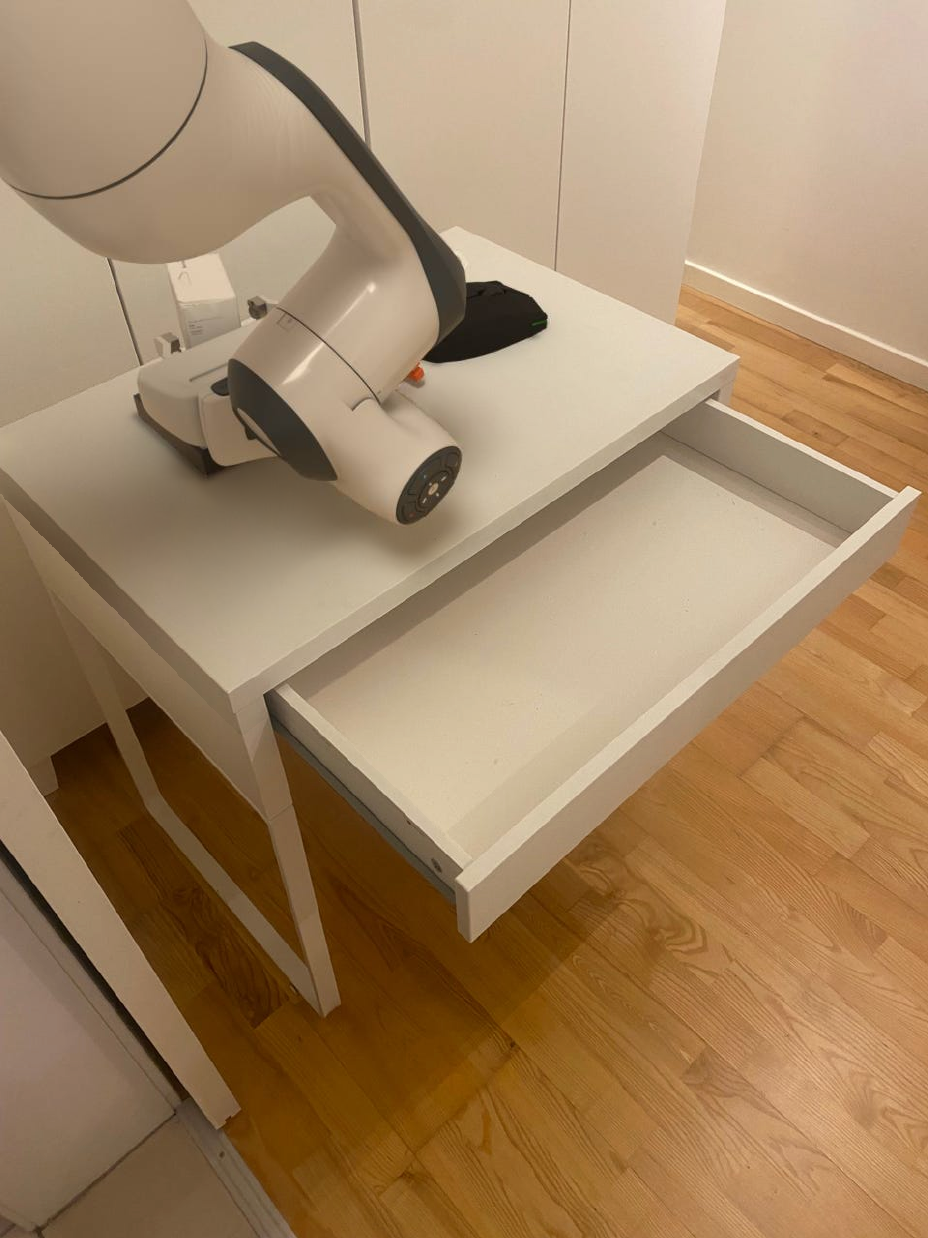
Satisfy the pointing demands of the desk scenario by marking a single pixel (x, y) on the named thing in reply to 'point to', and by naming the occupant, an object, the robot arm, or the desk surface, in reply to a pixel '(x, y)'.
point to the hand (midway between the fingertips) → (209, 322)
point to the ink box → (203, 299)
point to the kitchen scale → (181, 443)
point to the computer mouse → (490, 322)
